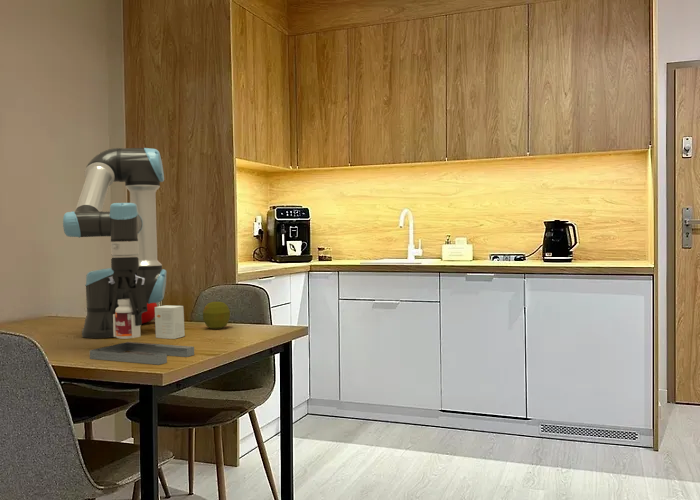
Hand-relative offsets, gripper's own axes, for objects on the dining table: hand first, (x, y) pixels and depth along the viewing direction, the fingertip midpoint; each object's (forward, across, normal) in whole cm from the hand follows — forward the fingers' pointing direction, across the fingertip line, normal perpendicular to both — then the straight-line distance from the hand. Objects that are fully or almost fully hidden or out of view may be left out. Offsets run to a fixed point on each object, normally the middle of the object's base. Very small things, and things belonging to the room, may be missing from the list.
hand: (127, 336), depth 198 cm
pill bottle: (+1, 0, 0) cm, 1 cm away
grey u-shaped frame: (+6, +5, 0) cm, 8 cm away
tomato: (+5, -45, +54) cm, 71 cm away
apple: (+5, -8, +53) cm, 54 cm away
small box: (+6, -11, +31) cm, 34 cm away
